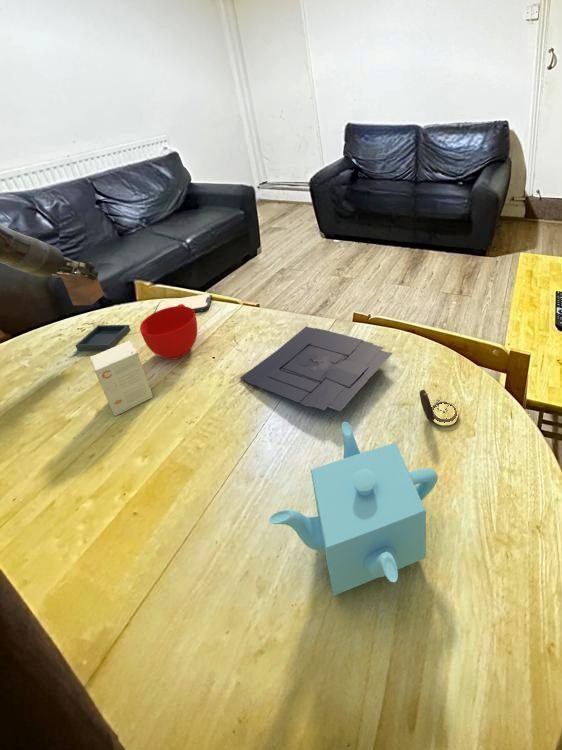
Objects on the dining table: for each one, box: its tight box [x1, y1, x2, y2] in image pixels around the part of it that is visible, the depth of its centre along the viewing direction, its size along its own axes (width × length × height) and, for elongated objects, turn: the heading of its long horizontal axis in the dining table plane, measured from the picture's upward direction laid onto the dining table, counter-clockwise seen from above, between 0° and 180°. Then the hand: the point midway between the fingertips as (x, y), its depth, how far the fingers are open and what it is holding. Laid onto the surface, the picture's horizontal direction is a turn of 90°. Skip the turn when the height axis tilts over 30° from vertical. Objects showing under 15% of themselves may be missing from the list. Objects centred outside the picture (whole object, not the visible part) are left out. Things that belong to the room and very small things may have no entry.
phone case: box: [153, 293, 213, 313], centre depth 129 cm, size 9×2×16 cm
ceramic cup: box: [139, 304, 198, 360], centre depth 110 cm, size 13×17×10 cm
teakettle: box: [268, 421, 439, 597], centre depth 62 cm, size 19×19×15 cm
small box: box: [89, 340, 154, 417], centre depth 92 cm, size 8×6×13 cm
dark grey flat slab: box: [239, 326, 393, 412], centre depth 100 cm, size 24×30×4 cm
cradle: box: [74, 324, 131, 352], centre depth 115 cm, size 9×9×2 cm
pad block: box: [61, 261, 104, 306], centre depth 108 cm, size 5×5×10 cm
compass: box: [419, 389, 457, 423], centre depth 86 cm, size 8×8×7 cm
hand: (85, 276), depth 109 cm, fingers closed on pad block, 5 cm apart
